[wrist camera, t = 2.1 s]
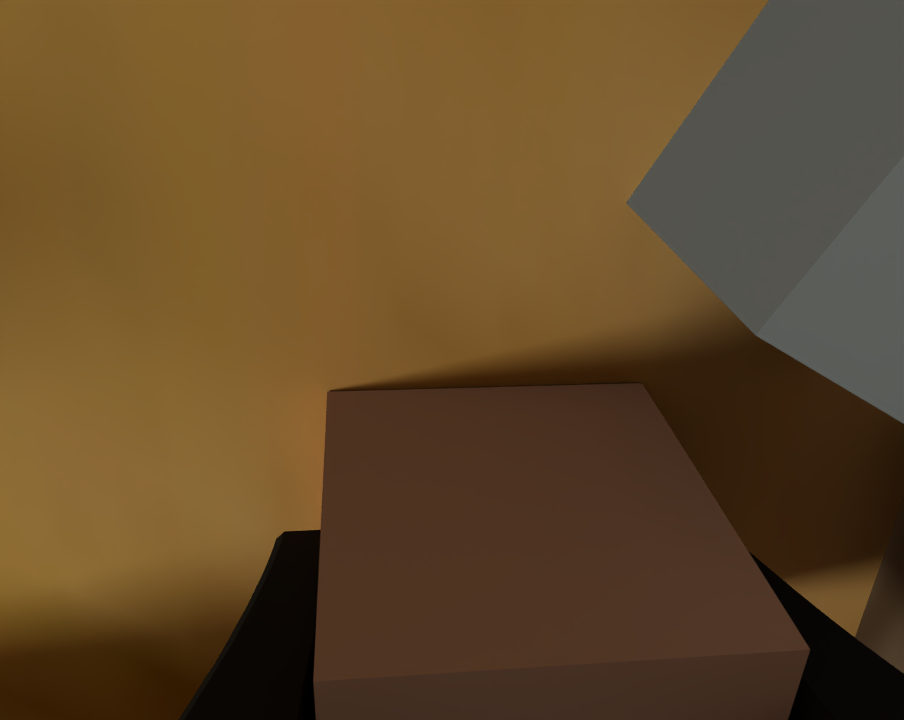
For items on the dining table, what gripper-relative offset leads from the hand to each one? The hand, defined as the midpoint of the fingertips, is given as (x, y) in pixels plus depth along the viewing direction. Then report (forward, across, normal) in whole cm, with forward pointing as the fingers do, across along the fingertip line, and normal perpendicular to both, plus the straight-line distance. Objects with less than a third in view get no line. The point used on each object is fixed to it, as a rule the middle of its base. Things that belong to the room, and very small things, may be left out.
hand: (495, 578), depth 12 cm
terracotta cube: (+1, 0, 0) cm, 1 cm away
